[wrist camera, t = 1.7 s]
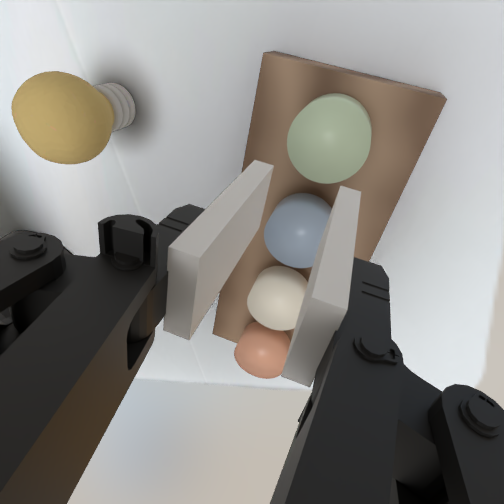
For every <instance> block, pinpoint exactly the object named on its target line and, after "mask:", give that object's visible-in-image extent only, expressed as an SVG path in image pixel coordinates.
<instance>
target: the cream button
mask: <svg viewBox="0 0 504 504" xmlns="http://www.w3.org/2000/svg"><path fill="white" fill-rule="evenodd" d="M307 284H308V282H307V280H306V279H305V278H304V277H303V276H302V275H301V274H300V273H299V272H297V271H295V270H294V269H291V268H288V267H284V266H272V267H269V268H266V269H265V270H263V271H262V272H261V273H260V274H259V275H258V277H257V279H256V281H255V283H254V285H253V287H252V289H251V291H250V293H249V295H248V298H247V306H248V309H249V311H250V313H251V315H252V316H253V317H254V319H255V320H256V321H258V322H259V323H260V324H262V325H264V326H265V327H268V328H270V329H274V330H280V331H284V330H291V329H294V328H295V326H296V322H297V319H298V315H299V312H300V308H301V305H302V302H303V298H304V295H305V291H306V288H307Z"/></svg>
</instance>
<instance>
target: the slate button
mask: <svg viewBox="0 0 504 504" xmlns="http://www.w3.org/2000/svg"><path fill="white" fill-rule="evenodd" d="M331 210H332V208H331V207H330V206H329V204H328V203H327V202H325V201H324V200H323V199H321V198H320V197H318V196H315V195H313V194H308V193H296V194H292V195H290V196H287V197H286V198H284V199H283V200H281V201H280V202H279V204H278V205H277V206H276V208H275V210H274V211H273V213H272V215H271V216H270V218H269V220H268V221H267V223H266V226H265V229H264V240H265V244H266V246H267V248H268V250H269V252H270V253H271V254H272V255H273V256H274V257H275V258H276V259H277V260H278V261H280V262H281V263H283V264H285V265H288V266H291V267H295V268H308V267H312V266H313V263H314V260H315V256H316V253H317V249H318V246H319V243H320V241H321V238H322V235H323V232H324V230H325V227H326V224H327V221H328V219H329V216H330V213H331Z"/></svg>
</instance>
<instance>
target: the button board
mask: <svg viewBox="0 0 504 504" xmlns="http://www.w3.org/2000/svg"><path fill="white" fill-rule="evenodd" d="M332 93H340V94H345V95H348V96H350V97H352V98H354V99H356V100H357V101H359V102H360V103H361V104H362V105H363V107H364V108H365V109H366V111H367V113H368V115H369V117H370V121H371V127H372V134H371V146H370V151H369V154H368V157H367V159H366V161H365V162H364V164H363V166H362V167H361V168H360V169H359V170H358V171H357V172H356V173H355V174H354V175H352V176H351V177H349V178H347V179H346V180H343V181H341V182H337V183H331V184H325V183H318V182H314V181H312V180H309V179H308V178H306V177H304V176H303V175H302V174H300V173H299V172H298V171H297V169H296V168H295V167H294V165H293V164H292V162H291V160H290V158H289V155H288V150H287V136H288V132H289V129H290V126H291V124H292V122H293V120H294V119H295V117H296V116H297V115H298V114H299V113H300V112H301V111H302V110H303V109H304V108H305V107H306V106H307V105H308V104H309V103H310V102H311V101H313V100H314V99H316V98H318V97H320V96H323V95H326V94H332ZM446 100H447V99H446V98H445V97H444V96H443V95H442V94H441V93H440V92H436V91H432V90H428V89H424V88H420V87H416V86H412V85H408V84H404V83H400V82H396V81H392V80H388V79H384V78H380V77H376V76H372V75H368V74H364V73H360V72H356V71H352V70H348V69H344V68H340V67H336V66H332V65H328V64H324V63H320V62H316V61H312V60H308V59H304V58H300V57H296V56H292V55H288V54H284V53H280V52H276V51H271V52H265V53H263V57H262V63H261V68H260V74H259V79H258V85H257V91H256V96H255V102H254V107H253V113H252V118H251V124H250V129H249V135H248V140H247V146H246V151H245V157H244V162H243V168H242V172H243V171H244V170H245V169H246V168H247V167H248V166H249V165H250V164H251V163H252V162H253V161H254V160H257V161H260V162H264V163H267V164H270V165H274V168H273V172H272V176H271V180H270V185H269V189H268V193H267V197H266V202H265V206H264V210H263V214H262V219H261V223H260V227H259V229H258V231H257V232H256V234H255V235H254V237H253V239H252V240H251V242H250V243H249V245H248V247H247V248H246V250H245V251H244V253H243V255H242V256H241V258H240V260H239V261H238V263H237V264H236V266H235V268H234V269H233V271H232V272H231V274H230V276H229V277H228V279H227V280H226V282H225V284H224V285H223V287H222V289H221V290H220V295H219V300H218V306H217V311H216V317H215V322H214V328H213V333H212V334H214V335H217V336H220V337H222V338H225V339H227V340H230V341H233V342H235V343H238V342H239V339H240V337H241V335H242V333H243V331H244V329H245V327H246V326H247V325H249V324H251V323H253V322H258V321H256V320H255V319H254V317H253V316H252V315H251V313H250V311H249V309H248V306H247V298H248V295H249V293H250V291H251V289H252V287H253V285H254V283H255V281H256V279H257V277H258V275H259V274H260V273H261V272H262V271H263V270H265V269H266V268H269V267H272V266H284V267H288V268H291V269H294V270H295V271H297V272H299V273H300V274H301V275H302V276H303V277H304V278H305V279H306V280H307V282H308V281H309V277H310V274H311V270H312V267H313V266H312V267H308V268H295V267H291V266H288V265H285V264H283V263H281V262H280V261H278V260H277V259H276V258H275V257H274V256H273V255H272V254H271V253H270V252H269V250H268V248H267V246H266V244H265V240H264V229H265V226H266V223H267V221H268V220H269V218H270V216H271V215H272V213H273V211H274V210H275V208H276V206H277V205H278V204H279V202H280V201H281V200H283V199H284V198H286V197H287V196H290V195H292V194H296V193H308V194H313V195H315V196H318V197H320V198H321V199H323V200H324V201H325V202H327V203H328V204H329V206H330V207H331V208H333V205H334V202H335V199H336V197H337V194H338V191H339V188H340V186H344V187H347V188H350V189H354V190H357V191H360V192H361V198H360V207H359V215H358V224H357V233H356V241H355V250H354V257H356V258H359V259H362V260H365V261H368V262H369V260H370V258H371V256H372V254H373V252H374V250H375V248H376V246H377V244H378V242H379V240H380V238H381V235H382V233H383V231H384V229H385V227H386V225H387V223H388V221H389V219H390V217H391V215H392V213H393V211H394V208H395V206H396V204H397V202H398V200H399V198H400V196H401V194H402V192H403V190H404V188H405V186H406V183H407V181H408V179H409V177H410V175H411V173H412V171H413V169H414V167H415V165H416V163H417V161H418V159H419V156H420V154H421V152H422V150H423V148H424V146H425V144H426V142H427V140H428V138H429V136H430V134H431V131H432V129H433V127H434V125H435V123H436V121H437V119H438V117H439V115H440V113H441V111H442V109H443V107H444V104H445V102H446ZM294 329H295V328H294ZM294 329H291V330H284V332H285V333H286V334H287V336H288V337H289V340H290V343H291V340H292V336H293V333H294Z"/></svg>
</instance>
